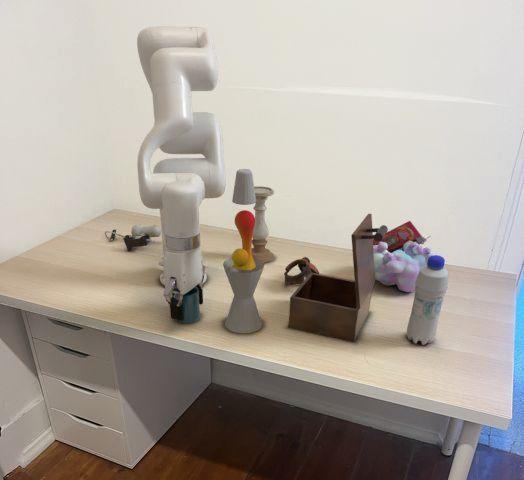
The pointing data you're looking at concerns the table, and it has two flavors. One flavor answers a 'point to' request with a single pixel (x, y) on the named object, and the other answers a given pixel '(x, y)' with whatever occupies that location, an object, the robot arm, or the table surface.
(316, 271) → the pottery mug
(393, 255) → the iridescent bubble cluster
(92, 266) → the table surface
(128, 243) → the clip-on lamp
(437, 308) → the bottle
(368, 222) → the lid
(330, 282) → the chest
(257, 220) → the candle holder
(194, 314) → the cup
